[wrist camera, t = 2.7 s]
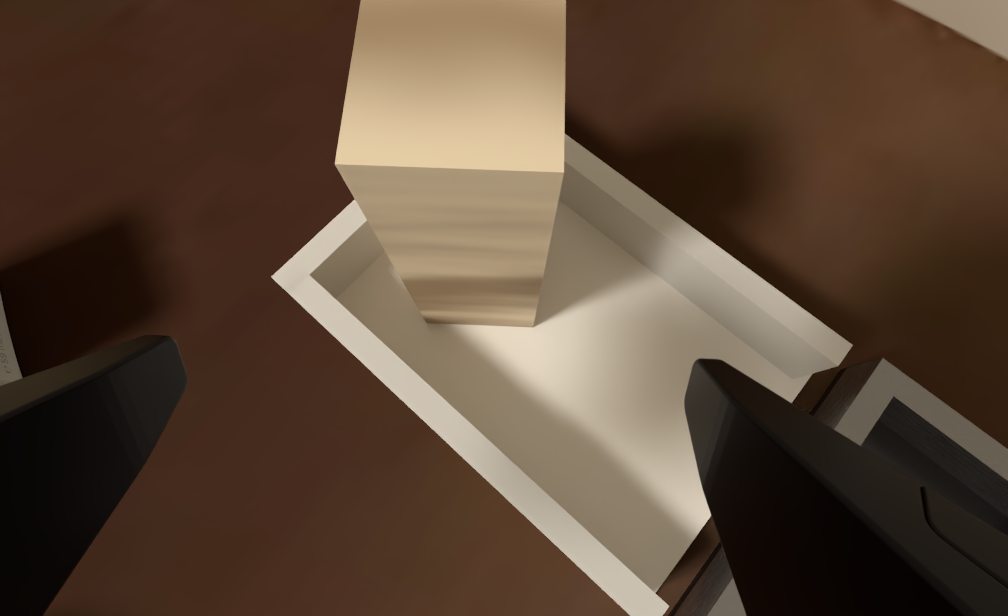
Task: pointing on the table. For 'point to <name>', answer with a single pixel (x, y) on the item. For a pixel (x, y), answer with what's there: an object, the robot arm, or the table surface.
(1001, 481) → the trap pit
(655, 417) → the cream rectangular tray
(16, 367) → the skincare box
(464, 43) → the maple block
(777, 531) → the robot arm
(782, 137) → the table surface
